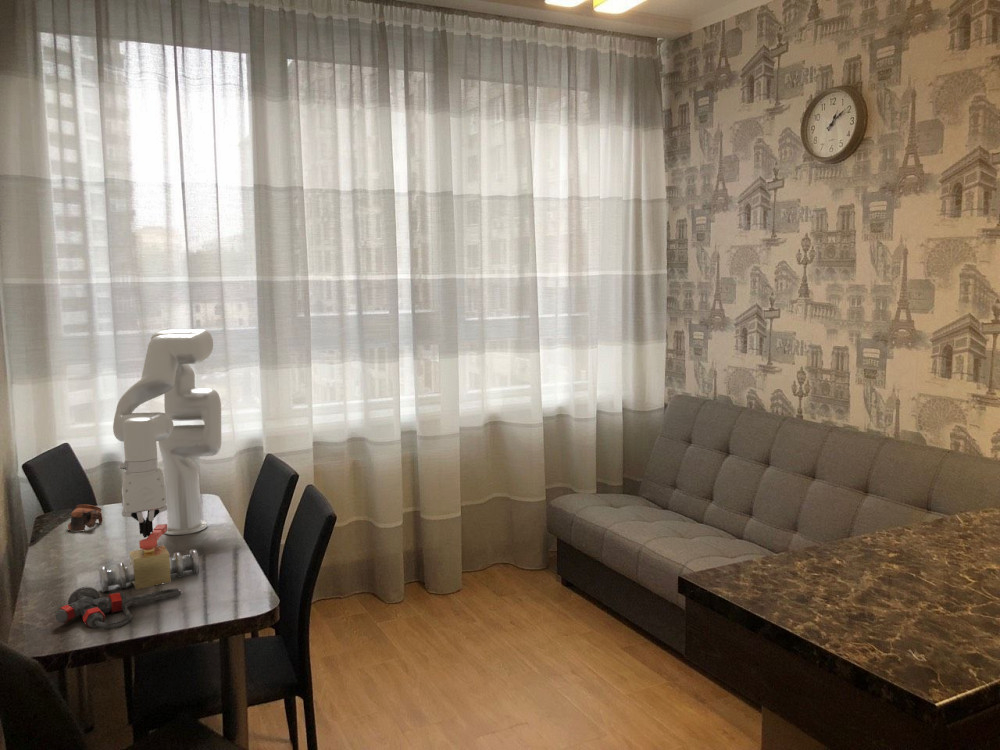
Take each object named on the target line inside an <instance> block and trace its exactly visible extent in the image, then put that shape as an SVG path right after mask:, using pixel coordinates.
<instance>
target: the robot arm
mask: <svg viewBox="0 0 1000 750" xmlns="http://www.w3.org/2000/svg"><path fill="white" fill-rule="evenodd" d="M213 348H214V339H213V336H212V334H211V332H209V331H208V330H206V329H168V330H159V331H157V332H154V333H153V334H152V335H151V337H150V341H149V342H148V344H147V349H146V353H145V359H144V363H143V368H142V373H141V378H140V379H139V380H138V381H137V382H135V383H134V384H133V385H132V386H130V387H129V389H127V390H126V391H125V392H124V393H123V395H122V396H121V397H120V398H119V401H118V403H117V406H116V408H115V409H116V410H115V413H114V419H113V423H112V424H113V425H112V431H113V435H114V437H115V438H116V439H117V440H118V441H120V442H123V448H124V449H123V451H124V462H122V463H119V464H118V468H119V470H124V472H123V473H122V479H121V480H122V481H121V503H122V505H121V507H122V511H121V516H122V517H123V518H133V519H134V520H136V521H137V522H138V526H139V535H142V537H143V538H144V539H146V538H148V536H149V535H150V534H151V533H152V532H153V531H154V530H153V529H154V528H153V527H154V526H153V525H154V524H153V521H154V519H155V517H156V516H158V514H161V513H162V512H166V519H167V523H166V524H167V529H168V530H167V531H166V532H165V534H164V535H171V536H182V535H183V536H184V535H189V534H194V533H197V532H200V531H203V530H206V528H207V527H208V522H207V521H206V520H204V519H202V510H201V509H202V508H201V493H200V478H199V475H200V474H199V469H198V467H197V465H196V463H195V462H193V460H192V459H191V458H194V457H195V458H197V457H212V456H216V455H218V454H219V452H220V451H221V447H222V403H221V396H220V394H219V393H218V391H217V390H215V389H213V388H196V386H195V385H196V379H195V378H196V375H195V371H194V369H193V368H192V367H191V365H193V364H200V363H202V362H203V361H205V360H206V359H209V357H210V356H211V354H212V353H213V350H214V349H213ZM190 364H191V365H190ZM162 395H164V397H163V398H164V399H163V401H164V405H163V406H164V412H160V411H159V412H134V411H135V410H136V409H137V408H139V406H140V405H143V404H144V403H146V402H148V401H150V400H152V399H155V398H157V397H160V396H162ZM175 421H176V422H178V421H179V422H181V421H182V422H184V421H185V422H186V421H188V422H190V421H203V423H204V424H183V425H181V424H178V425H174V422H175ZM157 442H158V446H157ZM157 447H159V450H160V451H159V452H160V456H161V459H162V467H163V470H162V469H161V468H159V464H158V460H159V459H158V448H157ZM143 512H147V514H146V517H145V518H144V516H143Z"/></svg>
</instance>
